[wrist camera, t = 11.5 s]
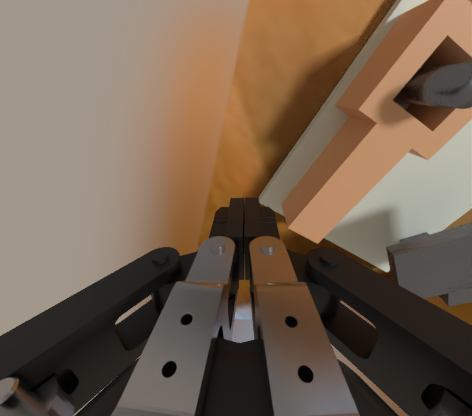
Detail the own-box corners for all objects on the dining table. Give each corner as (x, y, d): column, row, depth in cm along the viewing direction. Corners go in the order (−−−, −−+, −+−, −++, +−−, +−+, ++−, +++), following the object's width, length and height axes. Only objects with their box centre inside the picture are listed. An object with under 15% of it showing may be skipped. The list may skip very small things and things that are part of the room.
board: (412, -24, 13) (424, -33, 12) (565, 121, 17) (583, 123, 16) (257, 197, 21) (258, 202, 20) (382, 265, 25) (386, 272, 24)
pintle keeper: (389, 66, 16) (481, 50, 9) (520, 172, 19) (653, 211, 12) (282, 203, 21) (295, 248, 15) (395, 266, 25) (444, 325, 18)
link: (318, 225, 21) (331, 251, 18) (268, 197, 20) (272, 219, 17) (463, 69, 15) (531, 62, 11) (401, 14, 13) (454, -13, 10)
